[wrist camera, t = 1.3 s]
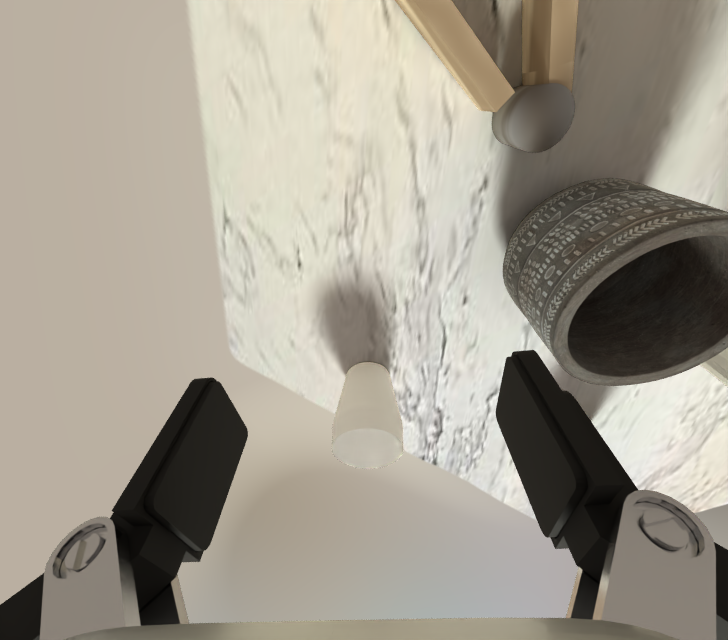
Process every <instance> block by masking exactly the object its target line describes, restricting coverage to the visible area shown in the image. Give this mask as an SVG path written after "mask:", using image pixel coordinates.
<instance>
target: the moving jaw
mask: <svg viewBox="0 0 728 640" xmlns="http://www.w3.org/2000/svg"><path fill="white" fill-rule="evenodd" d="M395 1H396V2H397V4H398V5H399V6H400V8H401V9H402V10H403V11H404V13H405V14H406V15H407V17H408V18H409V19H410V21H411V22H412V23H413V25H414V26H415V27H416V28H417V30H418V31H419V32H420V34H421V35H422V36H423V38H424V39H425V40H426V42H427V43H428V44H429V45H430V47H431V48H432V49H433V51H434V52H435V53H436V55H437V56H438V57H439V59H440V60H441V61H442V62H443V64H444V65H445V66H446V68H447V69H448V70H449V72H450V73H451V74H452V76H453V77H454V78H455V79H456V81H457V82H458V83H459V85H460V86H461V87H462V89H463V90H464V91H465V92H466V94H467V95H468V96H469V98H470V99H471V100H472V102H473V103H474V104H475V106H476V107H477V108H478V109H479V110H481V111H490V112H497V111H498V110H499V109H500V108H501V107H502V106H503V105H504V104H505V102H506V101H507V100H508V99H509V98H510V97H511V96H512V95H513V94H514V93H515V92H514V90H513V89H512V87H511V86H510V84H509V83H508V81H507V80H506V79H505V77H504V76H503V74H502V73H501V71H500V70H499V68H498V67H497V65H496V64H495V63H494V61H493V60H492V58H491V57H490V55H489V54H488V52H487V51H486V50H485V48H484V47H483V45H482V44H481V42H480V41H479V39H478V38H477V37H476V35H475V34H474V32H473V31H472V29H471V28H470V26H469V25H468V24H467V22H466V21H465V19H464V18H463V16H462V15H461V13H460V12H459V11H458V9H457V8H456V6H455V5H454V3H453V2H452V0H395Z"/></svg>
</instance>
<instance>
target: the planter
mask: <svg viewBox="0 0 728 640" xmlns="http://www.w3.org/2000/svg"><path fill="white" fill-rule="evenodd" d="M503 278H504V283H505V286H506V289H507V291H508V293H509V294H510V296H511V298H512V299H513V301H514V302H515V304H516V305H517V306H518V308H519V309H520V310H521V312H522V313H523V314H524V315H525V317H526V318H527V319H528V321H529V322H530V324H531V326H532V327H533V329H534V330H535V332H536V333H537V334H538V336H539V337H540V338H541V340H542V341H543V342H544V344H545V345H546V346H547V348H548V349H549V350H550V351H551V353H552V354H553V356H554V357H555V358H556V360H557V361H558V363H559V364H560V365H561V367H562V368H563V369H564V370H565V371H566V372H568V373H569V374H570V375H572V376H574V377H575V378H577V379H580V380H582V381H585V382H588V383H593V384H598V385H608V386H621V385H633V384H640V383H646V382H652V381H656V380H660V379H664V378H667V377H670V376H673V375H676V374H679V373H682V372H684V371H687V370H689V369H691V368H693V367H695V366H698V365H700V364H702V363H704V362H706V361H707V360H709V359H711V358H713V357H714V356H716V355H718V354H719V353H721V352H722V351H724V350H725V349H726V348H728V212H726V211H723V210H720V209H717V208H714V207H711V206H708V205H705V204H701V203H698V202H695V201H692V200H689V199H685V198H682V197H678V196H675V195H671V194H668V193H665V192H662V191H660V190H657V189H654V188H652V187H649V186H645V185H642V184H639V183H635V182H632V181H628V180H623V179H614V178H607V179H596V180H591V181H587V182H583V183H580V184H577V185H574V186H572V187H569V188H567V189H565V190H563V191H561V192H559V193H557V194H555V195H553V196H551V197H550V198H548V199H547V200H545V201H544V202H542V203H541V204H539V205H538V206H537V207H536V208H534V209H533V210H532V211H531V212H530V213H529V214H528V215H527V216H526V217H525V218H524V219H523V221H522V222H521V223H520V225H519V226H518V227H517V229H516V231H515V232H514V234H513V236H512V238H511V240H510V242H509V245H508V247H507V250H506V254H505V258H504V263H503Z"/></svg>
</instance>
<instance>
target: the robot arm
mask: <svg viewBox="0 0 728 640" xmlns="http://www.w3.org/2000/svg"><path fill="white" fill-rule="evenodd" d="M700 365H701V366H702V367H703V368H704V369H706V370H707V371H708V372H709V373H711V374H712V375H713V376H714V377H716V378H717V379H718V380H719V381H721V382H722V383H723V384H724V385H725V386H727V387H728V348H726V349H725V350H724V351H722V352H721V353H719V354H718V355H716V356H714V357H713V358H711V359H709V360H707V361H706V362H704V363H702V364H700ZM496 418H497V422H498V424H499V427H500V429H501V432H502V434H503V437H504V439H505V442H506V444H507V447H508V449H509V451H510V454H511V456H512V459H513V461H514V464H515V466H516V469H517V471H518V474H519V476H520V479H521V481H522V484H523V486H524V489H525V491H526V494H527V496H528V499H529V501H530V504H531V506H532V509H533V511H534V514H535V516H536V519H537V521H538V523H539V526H540V528H541V530H542V532H543V534H544V535H545V536H546V537H551V539H552V542H553V544H554V547H555V549H562V548H569V549H570V552H571V554H572V556H573V558H574V560H575V563H576V565H577V566H578V567H579V568H578V572H577V575H576V579H575V584H574V588H573V591H572V595H571V599H570V603H569V607H568V610H567V614H566V618H448V619H447V618H443V619H382V620H381V619H380V620H330V621H329V620H328V621H281V622H280V621H279V622H278V621H277V622H240V623H239V622H238V623H237V622H236V623H199V624H198V623H197V624H189V620H188V616H187V612H186V608H185V604H184V600H183V596H182V592H181V588H180V583H179V579H178V575H177V573H178V570H179V567H180V565H181V563H182V562H199V561H200V559H201V556H202V554H203V551H204V550H206V549H207V548H208V546H209V545H210V543H211V540H212V538H213V535H214V532H215V529H216V526H217V523H218V520H219V518H220V515H221V512H222V509H223V506H224V503H225V501H226V498H227V495H228V492H229V489H230V486H231V483H232V480H233V478H234V475H235V472H236V469H237V466H238V463H239V460H240V457H241V455H242V452H243V449H244V446H245V443H246V440H247V437H248V431H247V428H246V426H245V424H244V422H243V421H242V419H241V417H240V416H239V414H238V412H237V411H236V409H235V407H234V405H233V403H232V402H231V400H230V399H229V397H228V395H227V393H226V391H225V390H224V388H223V386H222V385H221V383H220V382H218V381H216V380H215V379H214V378H201V379H194V380H193V381H192V382H191V383H190V384H189V387H188V388H187V390H186V391H185V393H184V394H183V396H182V397H181V399H180V401H179V402H178V404H177V406H176V407H175V409H174V410H173V412H172V414H171V415H170V417H169V419H168V420H167V422H166V424H165V425H164V427H163V428H162V430H161V432H160V433H159V435H158V436H157V438H156V440H155V441H154V443H153V445H152V446H151V448H150V450H149V451H148V453H147V454H146V456H145V457H144V459H143V461H142V463H141V464H140V466H139V467H138V469H137V471H136V472H135V474H134V476H133V477H132V479H131V480H130V482H129V484H128V485H127V487H126V488H125V490H124V492H123V493H122V495H121V496H120V498H119V500H118V501H117V503H116V505H115V506H114V508H113V510H112V511H113V512H114V513H113V515H112V516H111V518H110V519H109V518H108V517H97V518H94V519H90V520H88V521H86V522H84V523H83V524H81V525H79V526H78V527H77V528H75V529H74V530H73V531H71V532H70V533H69V534H68V535H67V536H66V537H65V538H64V539H63V540H62V541H61V542H60V543H59V545H58V546H57V548H56V549H55V550H54V551H53V553H52V554H51V556H50V558H49V560H48V562H47V564H46V568H45V572H44V573H43V574H42V575H41V576H39V577H38V578H37V579H35V580H34V581H32V582H31V583H30V584H28V585H27V586H26V587H25V588H23V589H22V590H20V591H19V592H17V593H16V594H15V595H13V596H12V597H11V598H9V599H8V600H6V601H5V602H4V603H2V604H1V605H0V640H728V550H727V549H725V548H723V547H722V546H720V545H718V544H716V543H715V542H714V541H713V538H712V536H711V535H710V533H709V531H708V529H707V527H706V526H705V525H704V524H703V523H702V521H701V520H700V519H699V518H698V517H697V516H696V515H695V514H694V513H693V512H692V511H690V510H689V509H688V508H687V507H686V506H684V505H683V504H681V503H680V502H678V501H676V500H675V499H673V498H671V497H669V496H667V495H664V494H661V493H659V492H656V491H649V490H638V489H637V488H636V486H635V485H634V483H633V482H632V480H631V479H630V477H629V476H628V474H627V473H626V472H625V470H624V469H623V467H622V466H621V464H620V463H619V461H618V460H617V459H616V457H615V456H614V454H613V453H612V451H611V450H610V448H609V447H608V446H607V444H606V443H605V441H604V440H603V438H602V437H601V435H600V434H599V433H598V431H597V430H596V428H595V427H594V425H593V424H592V422H591V421H590V419H589V418H588V417H587V415H586V414H585V412H584V411H583V409H582V408H581V406H580V405H579V404H578V402H577V401H576V399H575V398H574V397H573V396H572V394H570V393H569V392H567V391H562V390H561V388H560V387H559V385H558V384H557V382H556V381H555V379H554V378H553V376H552V375H551V373H550V372H549V370H548V369H547V367H546V366H545V364H544V363H543V361H542V360H541V358H540V357H539V355H538V354H537V353H536V351H534V350H528V351H517V352H513V353H512V356H511V357H507V358H506V362H505V367H504V372H503V377H502V382H501V387H500V392H499V397H498V402H497V407H496Z"/></svg>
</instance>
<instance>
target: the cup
mask: <svg viewBox="0 0 728 640" xmlns="http://www.w3.org/2000/svg"><path fill="white" fill-rule="evenodd" d="M332 452H333V454H334V456H335V457H336V458H337V459H338V460H339V461H340V462H342V463H344V464H346V465H348V466H351V467H355V468H362V469H375V468H381V467H385V466H388V465H390V464H392V463H394V462H396V461H397V460H398V459H399V458H400V457H401V455H402V454H403V425H402V420H401V416H400V413H399V409H398V405H397V401H396V397H395V393H394V390H393V386H392V382H391V378H390V374H389V372H388V370H387V369H386V368H385V367H383V366H382V365H380V364H377V363H373V362H362V363H359V364H356V365H354V366H353V367H351V368H350V369H349V371H348V372H347V375H346V379H345V382H344V386H343V389H342V393H341V396H340V400H339V404H338V407H337V411H336V414H335V418H334V422H333V436H332Z"/></svg>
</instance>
